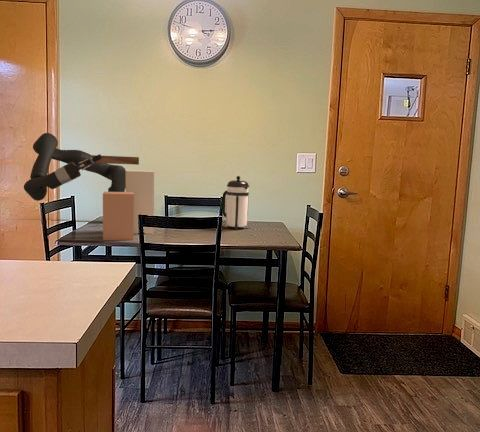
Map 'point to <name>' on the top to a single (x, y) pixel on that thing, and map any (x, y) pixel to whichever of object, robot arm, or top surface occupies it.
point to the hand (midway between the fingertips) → (100, 156)
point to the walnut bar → (117, 160)
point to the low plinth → (118, 216)
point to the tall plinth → (141, 194)
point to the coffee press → (236, 203)
